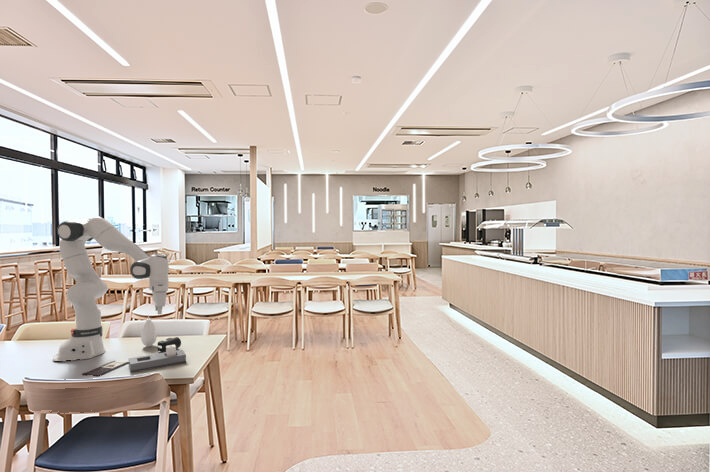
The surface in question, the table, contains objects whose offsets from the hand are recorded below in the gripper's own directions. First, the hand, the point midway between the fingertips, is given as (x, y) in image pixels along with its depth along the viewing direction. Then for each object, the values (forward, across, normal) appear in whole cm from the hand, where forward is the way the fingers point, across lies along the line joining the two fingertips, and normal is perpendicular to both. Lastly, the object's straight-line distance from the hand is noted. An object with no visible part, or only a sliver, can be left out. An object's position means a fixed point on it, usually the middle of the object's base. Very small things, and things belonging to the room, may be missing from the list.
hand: (158, 312), depth 204 cm
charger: (+22, +14, +5) cm, 26 cm away
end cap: (+23, -5, +6) cm, 25 cm away
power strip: (+23, +14, -1) cm, 27 cm away
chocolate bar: (+24, +6, -22) cm, 34 cm away
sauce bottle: (+24, -22, -2) cm, 33 cm away
